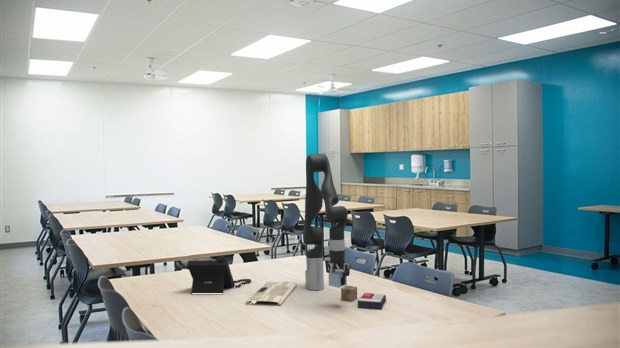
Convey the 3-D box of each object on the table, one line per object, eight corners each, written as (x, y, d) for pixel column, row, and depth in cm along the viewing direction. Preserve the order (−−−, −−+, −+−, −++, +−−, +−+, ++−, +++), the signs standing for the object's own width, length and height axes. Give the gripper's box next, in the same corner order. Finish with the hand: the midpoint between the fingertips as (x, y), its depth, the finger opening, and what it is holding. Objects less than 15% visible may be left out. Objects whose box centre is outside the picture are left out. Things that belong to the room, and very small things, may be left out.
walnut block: (341, 300, 223) (340, 288, 223) (346, 297, 228) (346, 285, 228) (352, 302, 220) (352, 289, 220) (357, 298, 225) (356, 286, 225)
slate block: (328, 285, 213) (328, 272, 213) (337, 282, 218) (336, 270, 218) (338, 287, 209) (338, 275, 209) (346, 284, 214) (346, 272, 213)
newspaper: (266, 285, 256) (266, 280, 256) (300, 286, 252) (300, 281, 252) (245, 305, 220) (245, 300, 220) (284, 307, 216) (283, 301, 216)
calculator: (385, 293, 221) (380, 300, 207) (386, 302, 221) (381, 310, 207) (363, 292, 224) (357, 299, 210) (363, 300, 224) (357, 308, 210)
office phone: (252, 281, 266) (252, 247, 265) (241, 295, 237) (240, 256, 237) (204, 281, 268) (203, 247, 268) (187, 294, 240) (186, 257, 240)
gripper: (320, 247, 215) (321, 282, 216) (343, 251, 205) (344, 288, 206) (330, 245, 220) (331, 279, 221) (354, 249, 210) (354, 284, 211)
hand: (337, 283), depth 213 cm, fingers closed on slate block, 6 cm apart
